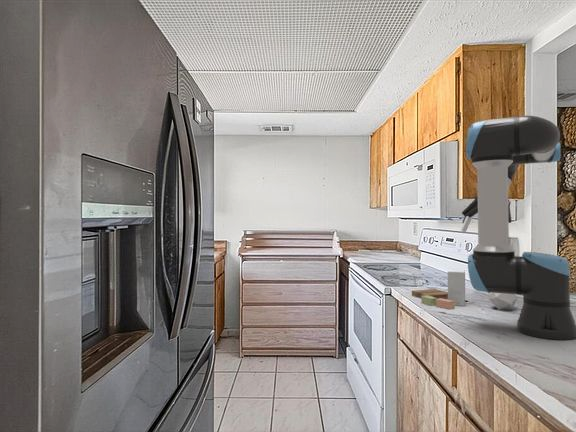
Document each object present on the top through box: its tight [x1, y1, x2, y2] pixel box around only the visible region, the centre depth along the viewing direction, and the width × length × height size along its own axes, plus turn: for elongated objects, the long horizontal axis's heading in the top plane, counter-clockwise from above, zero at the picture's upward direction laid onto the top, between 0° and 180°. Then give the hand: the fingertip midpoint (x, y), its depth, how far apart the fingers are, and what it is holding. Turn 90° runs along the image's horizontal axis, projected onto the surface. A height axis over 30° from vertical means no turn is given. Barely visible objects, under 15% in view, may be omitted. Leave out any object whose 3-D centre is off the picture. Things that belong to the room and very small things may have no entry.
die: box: [488, 292, 519, 311], centre depth 150 cm, size 8×9×10 cm
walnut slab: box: [411, 288, 448, 300], centre depth 172 cm, size 12×12×2 cm
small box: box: [447, 268, 466, 307], centre depth 159 cm, size 8×6×13 cm
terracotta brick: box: [435, 298, 456, 310], centre depth 153 cm, size 6×3×3 cm, turn 32°
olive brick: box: [420, 295, 437, 307], centre depth 159 cm, size 6×3×3 cm, turn 15°
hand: (478, 234), depth 163 cm, fingers open, 13 cm apart
